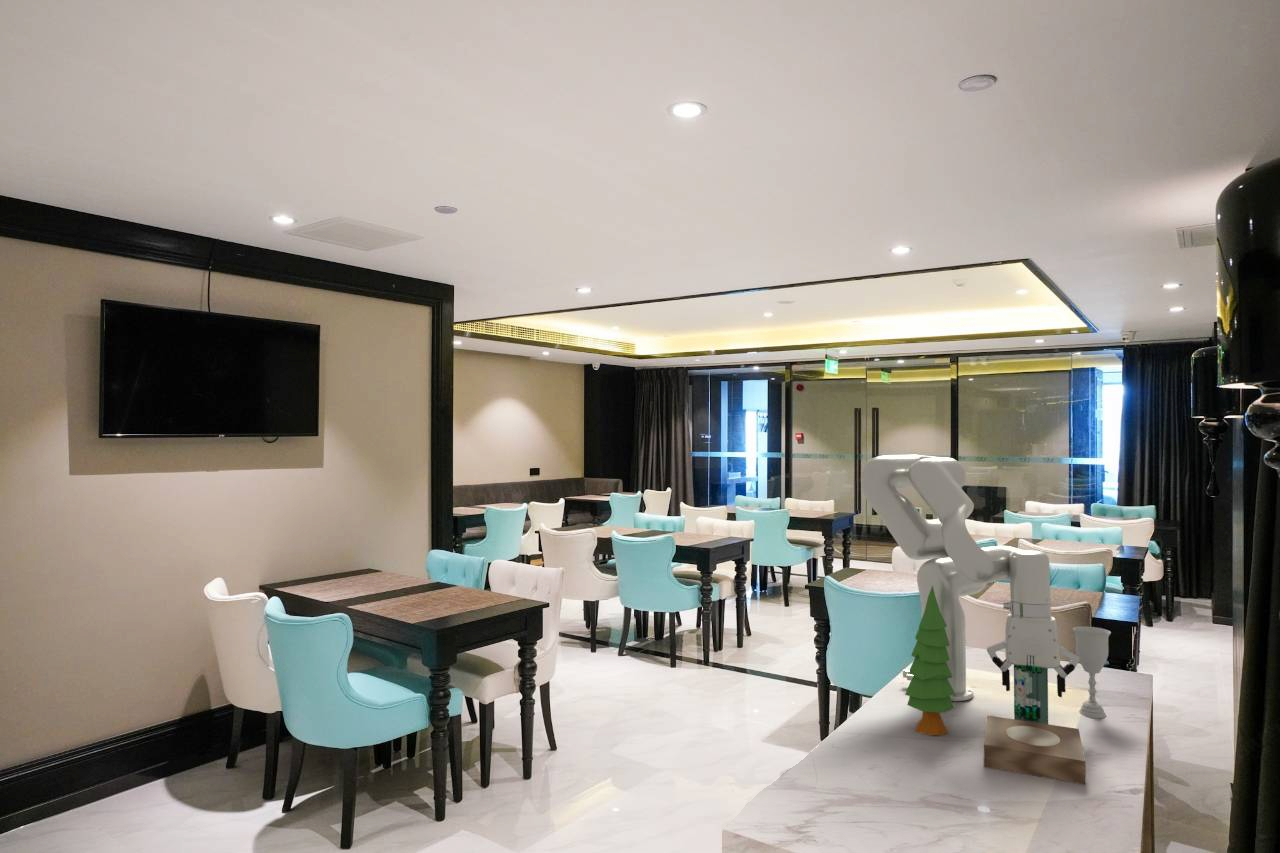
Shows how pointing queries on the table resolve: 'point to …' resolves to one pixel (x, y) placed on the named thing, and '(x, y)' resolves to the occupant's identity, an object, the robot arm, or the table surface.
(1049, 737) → the walnut base
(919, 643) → the decorative tree
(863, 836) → the table surface
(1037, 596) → the robot arm
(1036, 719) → the can
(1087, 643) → the chalice
